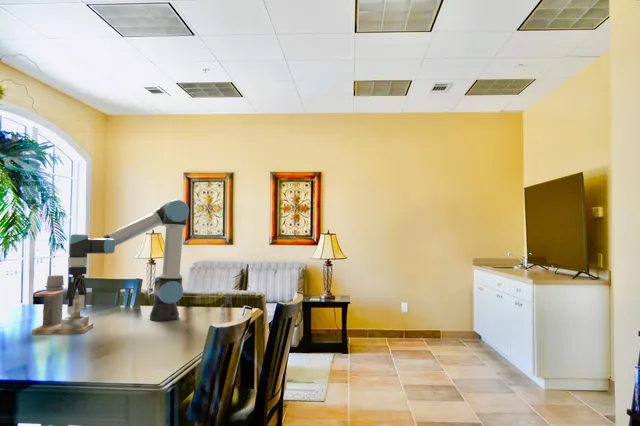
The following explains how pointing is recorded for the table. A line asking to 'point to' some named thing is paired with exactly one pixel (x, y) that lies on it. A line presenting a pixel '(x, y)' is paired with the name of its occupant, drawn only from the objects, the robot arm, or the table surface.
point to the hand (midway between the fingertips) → (75, 311)
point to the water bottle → (55, 298)
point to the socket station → (67, 323)
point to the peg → (76, 308)
